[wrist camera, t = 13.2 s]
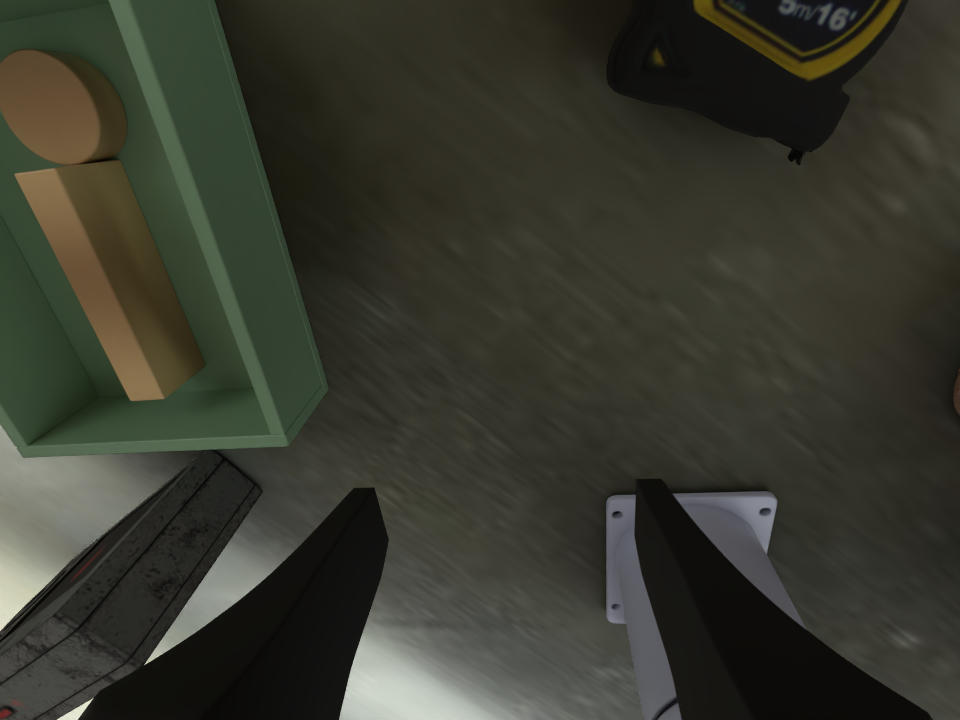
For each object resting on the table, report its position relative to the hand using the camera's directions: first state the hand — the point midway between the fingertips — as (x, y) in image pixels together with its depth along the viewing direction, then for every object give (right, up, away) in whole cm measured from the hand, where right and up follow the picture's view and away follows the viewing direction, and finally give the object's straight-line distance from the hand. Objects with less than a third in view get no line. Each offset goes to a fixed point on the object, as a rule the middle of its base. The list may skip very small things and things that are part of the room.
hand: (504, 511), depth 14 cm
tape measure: (+7, +15, +2) cm, 17 cm away
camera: (-20, -6, +16) cm, 26 cm away
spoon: (-15, +9, +7) cm, 19 cm away
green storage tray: (-15, +10, +7) cm, 19 cm away
